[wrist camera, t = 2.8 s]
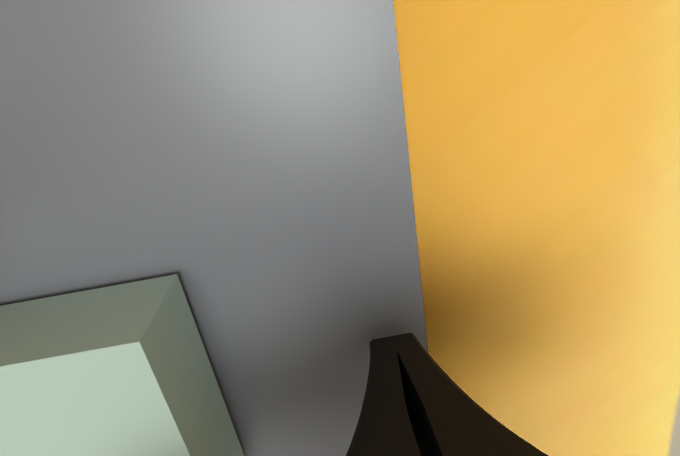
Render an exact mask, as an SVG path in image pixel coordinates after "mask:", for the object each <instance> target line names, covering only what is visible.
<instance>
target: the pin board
mask: <svg viewBox="0 0 680 456" xmlns="http://www.w3.org/2000/svg"><path fill="white" fill-rule="evenodd" d="M175 274H177V275H178V278H179V281H180V283H181V286H182V289H183V291H184V294H185V297H186V300H187V302H188V305H189V308H190V310H191V313H192V316H193V318H194V321H195V324H196V327H197V329H198V332H199V335H200V337H201V340H202V343H203V345H204V348H205V351H206V354H207V356H208V359H209V362H210V364H211V367H212V370H213V372H214V375H215V378H216V381H217V383H218V386H219V389H220V391H221V394H222V397H223V400H224V402H225V405H226V408H227V410H228V413H229V416H230V418H231V421H232V424H233V427H234V429H235V432H236V435H237V437H238V440H239V443H240V445H241V448H242V451H243V454H244V456H346V454H347V452H348V449H349V447H350V444H351V441H352V438H353V435H354V432H355V429H356V426H357V423H358V420H359V416H360V413H361V409H362V404H363V400H364V396H365V392H366V386H367V380H368V374H369V366H370V345H369V343H370V342H371V340H372V339H378V338H383V337H389V336H394V335H400V334H406V333H412V334H414V335H415V336H416V338H417V339H418V341H419V342H420V343H421V345H422V346H423V348H424V349H425V350H426V351H427V353H428V346H427V336H426V326H425V316H424V306H423V296H422V286H421V276H420V266H419V256H418V246H417V236H416V226H415V215H414V205H413V195H412V185H411V175H410V165H409V155H408V145H407V135H406V125H405V115H404V105H403V95H402V85H401V75H400V65H399V54H398V44H397V34H396V24H395V14H394V4H393V0H0V306H2V305H8V304H13V303H19V302H24V301H30V300H36V299H41V298H47V297H52V296H58V295H64V294H69V293H75V292H80V291H86V290H92V289H97V288H103V287H108V286H114V285H120V284H125V283H131V282H136V281H142V280H147V279H153V278H159V277H164V276H170V275H175Z"/></svg>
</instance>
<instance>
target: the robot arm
mask: <svg viewBox="0 0 680 456" xmlns="http://www.w3.org/2000/svg"><path fill="white" fill-rule="evenodd" d="M369 345H370V366H369V374H368V380H367V386H366V392H365V396H364V400H363V404H362V409H361V413H360V416H359V420H358V423H357V426H356V429H355V432H354V435H353V438H352V441H351V444H350V447H349V449H348V452H347V454H346V456H548V455H546V454H545V453H543V452H541V451H540V450H538V449H537V448H535V447H534V446H532V445H531V444H529V443H528V442H526V441H525V440H523V439H522V438H520V437H519V436H517V435H516V434H515V433H513V432H512V431H510V430H509V429H508V428H506V427H505V426H504V425H502V424H501V423H500V422H498V421H497V420H496V419H494V418H493V417H492V416H491V415H490V414H488V413H487V412H486V411H485V410H483V409H482V408H481V407H480V406H479V405H478V404H476V403H475V402H474V401H473V400H472V399H471V398H470V397H469V396H468V395H467V394H466V393H465V392H463V391H462V390H461V389H460V388H459V387H458V386H457V385H456V384H455V383H454V382H453V381H452V380H451V379H450V378H449V376H448V375H447V374H446V373H445V372H444V371H443V370H442V369H441V368H440V367H439V366H438V365H437V363H436V362H435V361H434V360H433V359H432V357H431V356H430V355H429V354H428V353H427V351H426V350H425V349H424V348H423V346H422V345H421V343H420V342H419V341H418V339H417V338H416V336H415V335H414V334H412V333H406V334H400V335H394V336H389V337H383V338H378V339H372V340H371V342H370V343H369Z"/></svg>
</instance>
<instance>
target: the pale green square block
mask: <svg viewBox="0 0 680 456" xmlns="http://www.w3.org/2000/svg"><path fill="white" fill-rule="evenodd" d="M0 456H244V454H243V451H242V448H241V445H240V443H239V440H238V437H237V435H236V432H235V429H234V427H233V424H232V421H231V418H230V416H229V413H228V410H227V408H226V405H225V402H224V400H223V397H222V394H221V391H220V389H219V386H218V383H217V381H216V378H215V375H214V372H213V370H212V367H211V364H210V362H209V359H208V356H207V354H206V351H205V348H204V345H203V343H202V340H201V337H200V335H199V332H198V329H197V327H196V324H195V321H194V318H193V316H192V313H191V310H190V308H189V305H188V302H187V300H186V297H185V294H184V291H183V289H182V286H181V283H180V281H179V278H178V275H177V274H175V275H170V276H164V277H159V278H153V279H147V280H142V281H136V282H131V283H125V284H120V285H114V286H108V287H103V288H97V289H92V290H86V291H80V292H75V293H69V294H64V295H58V296H52V297H47V298H41V299H36V300H30V301H24V302H19V303H13V304H8V305H2V306H0Z"/></svg>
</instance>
